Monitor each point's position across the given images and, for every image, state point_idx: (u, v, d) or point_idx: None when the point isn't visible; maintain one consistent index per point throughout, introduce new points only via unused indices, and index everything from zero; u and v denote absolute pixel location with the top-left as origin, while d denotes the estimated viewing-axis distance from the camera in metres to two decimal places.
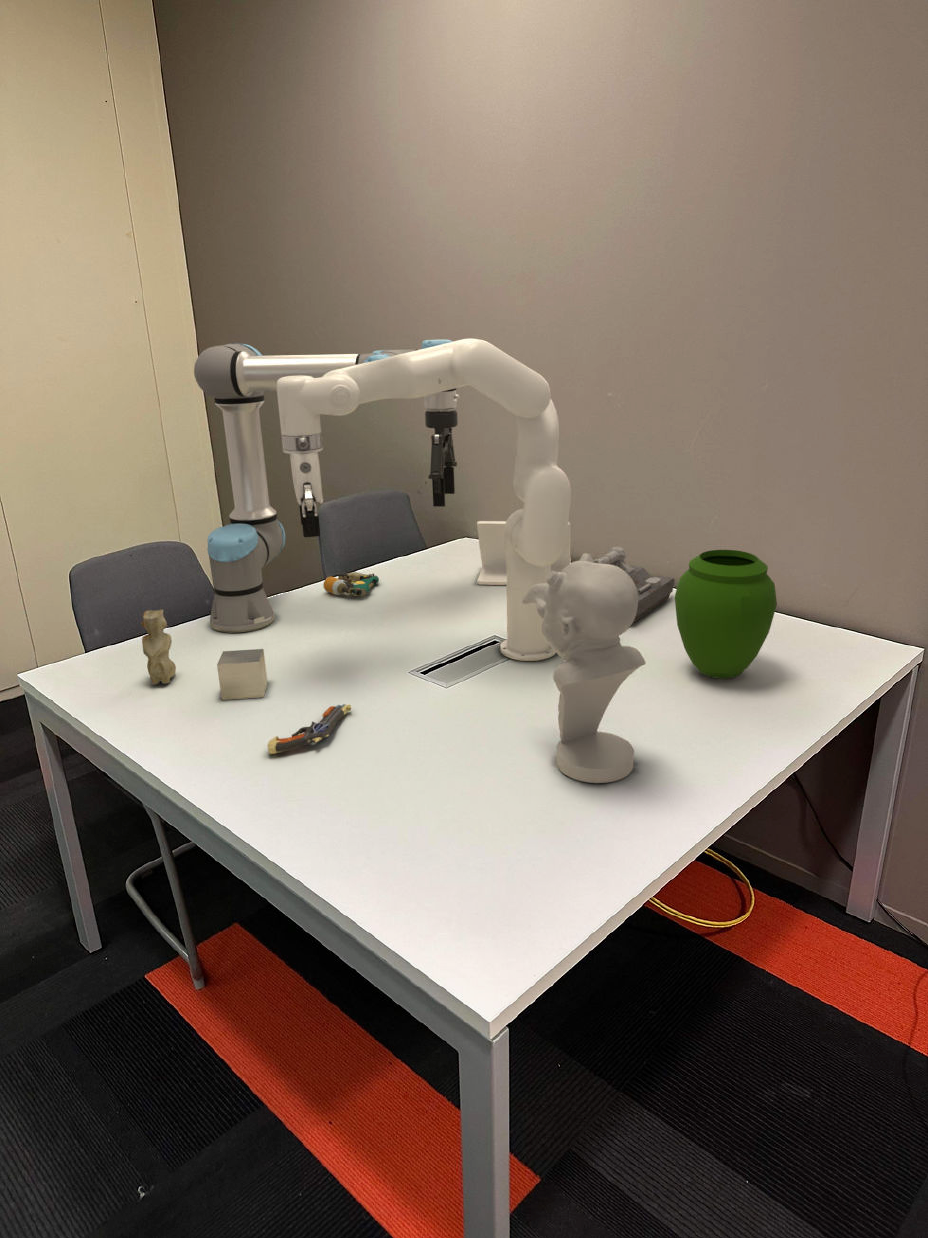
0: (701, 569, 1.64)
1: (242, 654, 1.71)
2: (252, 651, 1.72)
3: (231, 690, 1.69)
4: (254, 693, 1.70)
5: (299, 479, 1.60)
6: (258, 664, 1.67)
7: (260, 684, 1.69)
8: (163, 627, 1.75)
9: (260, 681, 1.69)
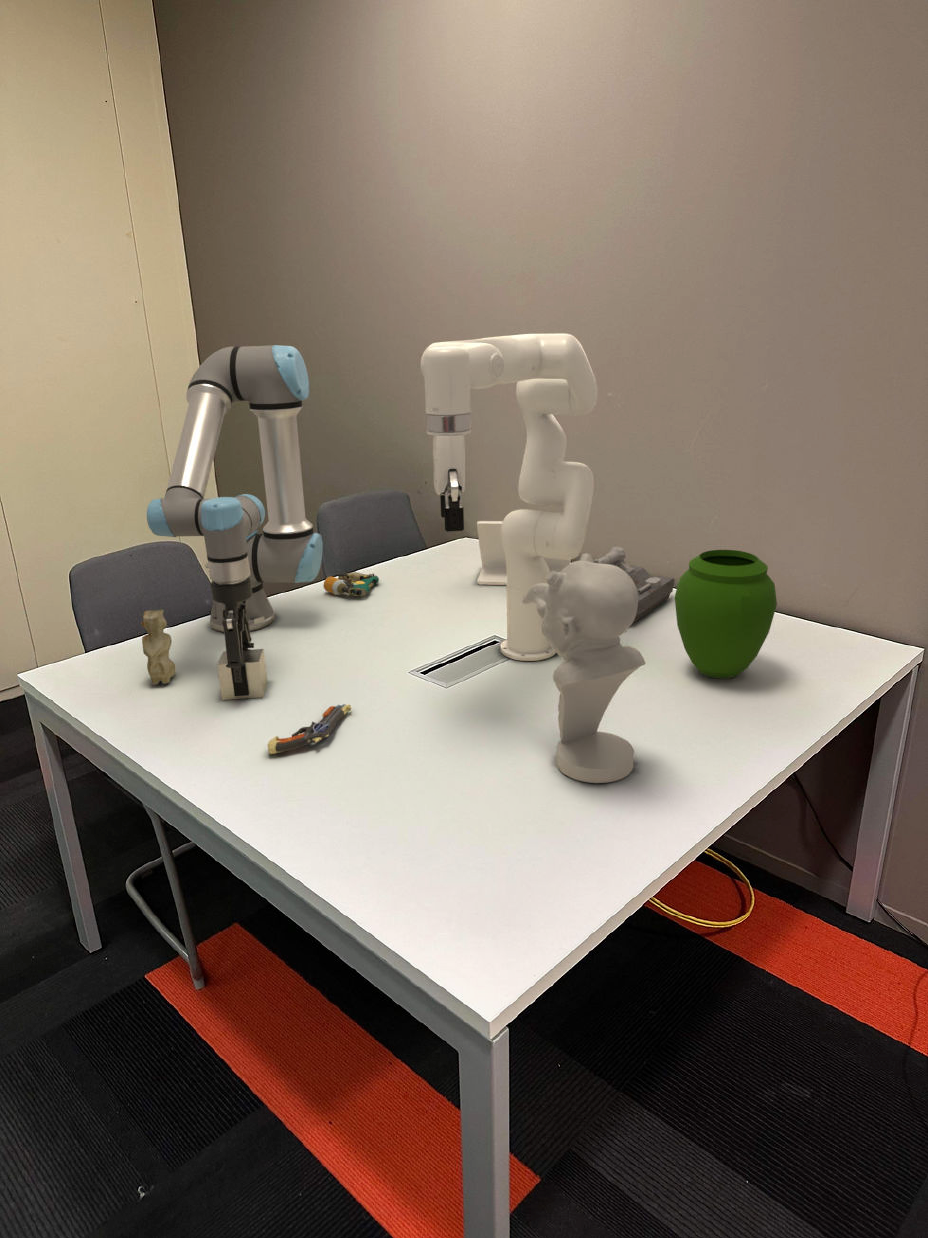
0: (701, 569, 1.64)
1: None
2: (252, 651, 1.72)
3: (231, 690, 1.69)
4: (254, 693, 1.70)
5: None
6: (258, 664, 1.67)
7: (260, 684, 1.69)
8: (163, 627, 1.75)
9: (260, 681, 1.69)
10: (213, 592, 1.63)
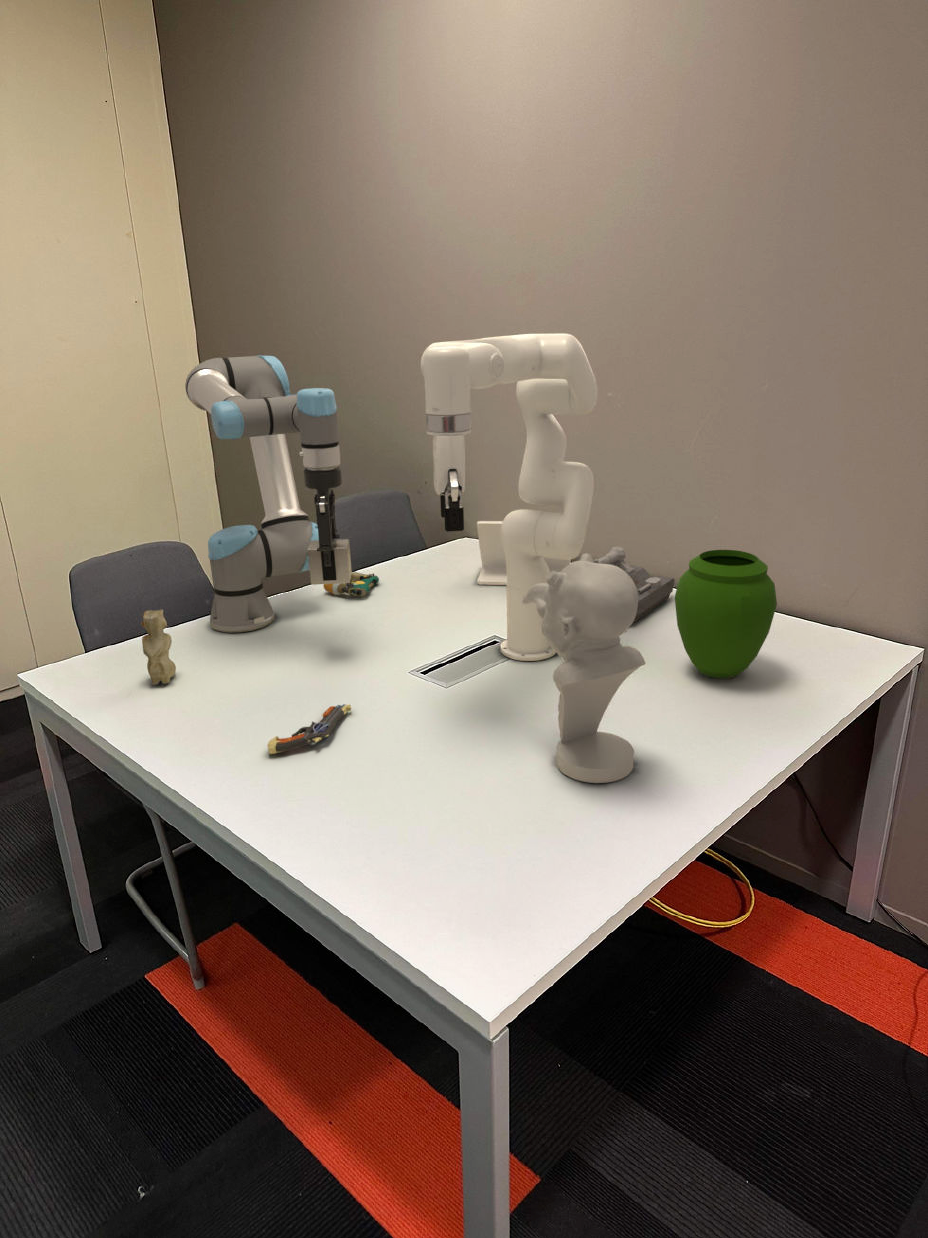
0: (701, 569, 1.64)
1: None
2: (339, 540, 1.82)
3: (320, 575, 1.78)
4: (341, 579, 1.79)
5: None
6: (346, 550, 1.77)
7: (347, 570, 1.78)
8: (163, 627, 1.75)
9: (347, 567, 1.78)
10: (306, 478, 1.72)
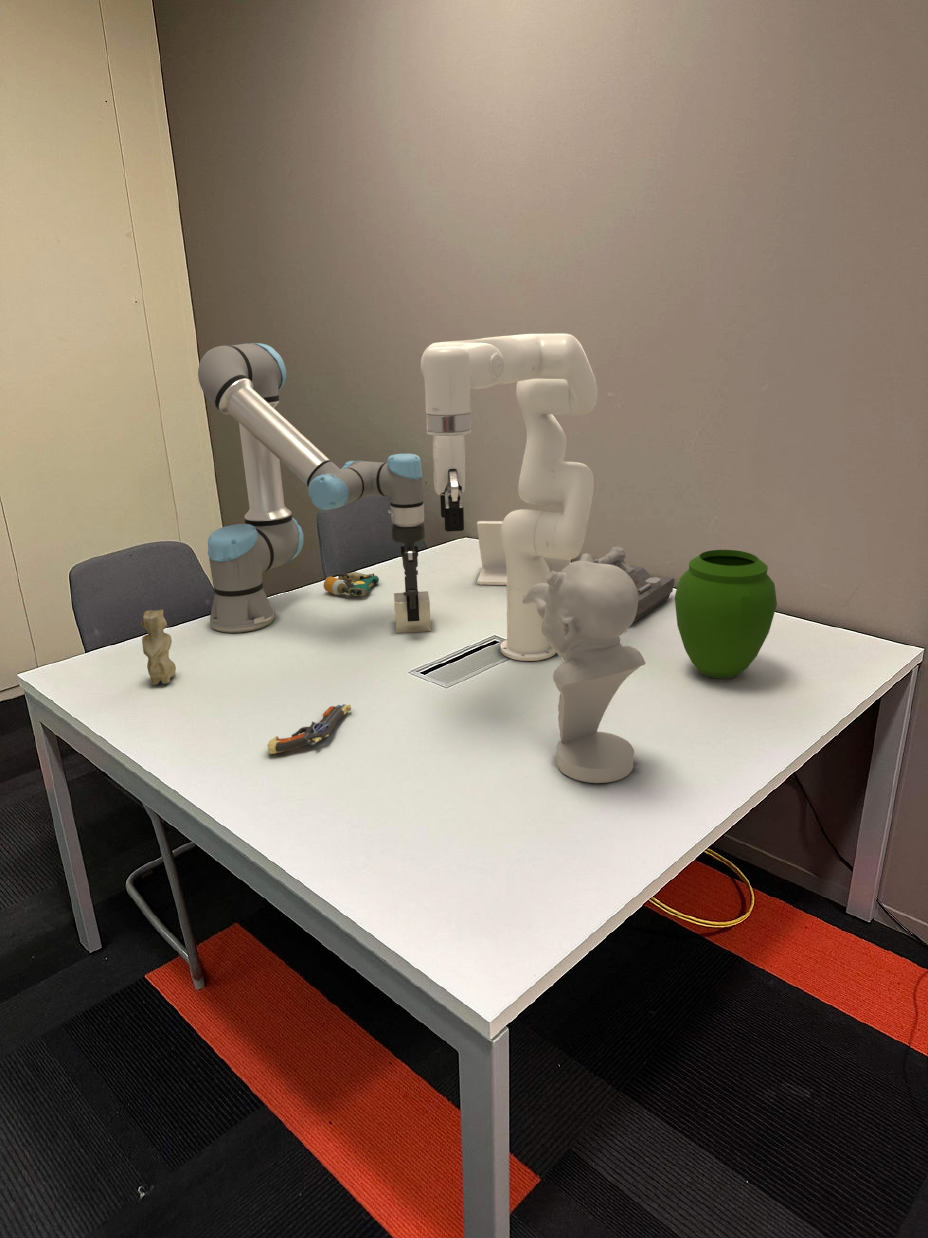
0: (701, 569, 1.64)
1: None
2: (419, 593, 2.04)
3: (404, 625, 2.00)
4: (423, 628, 2.01)
5: None
6: (428, 602, 1.99)
7: (429, 620, 2.00)
8: (163, 627, 1.75)
9: (429, 617, 2.00)
10: (395, 533, 1.93)
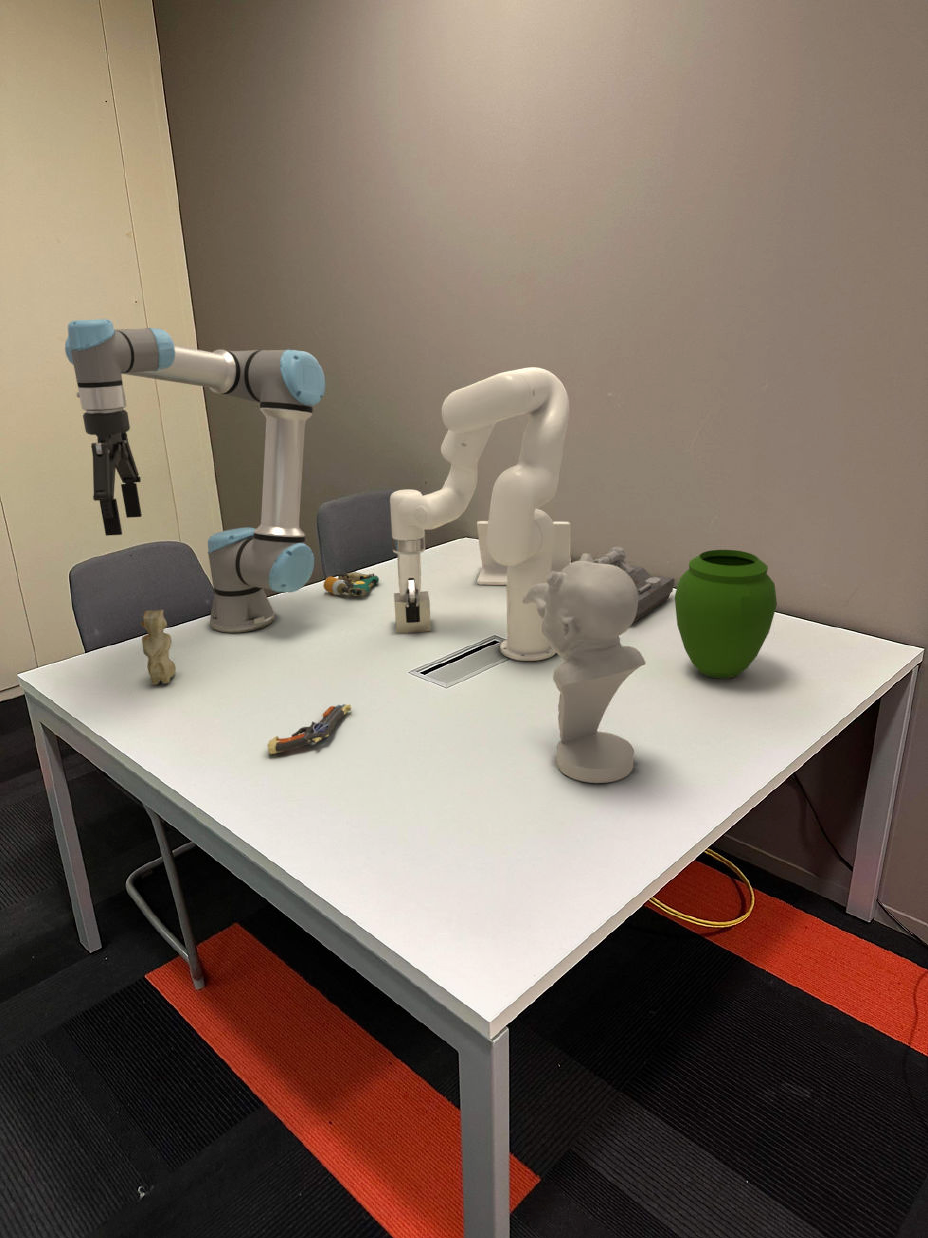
0: (701, 569, 1.64)
1: None
2: None
3: (404, 625, 2.00)
4: (423, 628, 2.01)
5: None
6: (428, 602, 1.99)
7: (429, 620, 2.00)
8: (163, 627, 1.75)
9: (429, 617, 2.00)
10: (85, 423, 1.52)
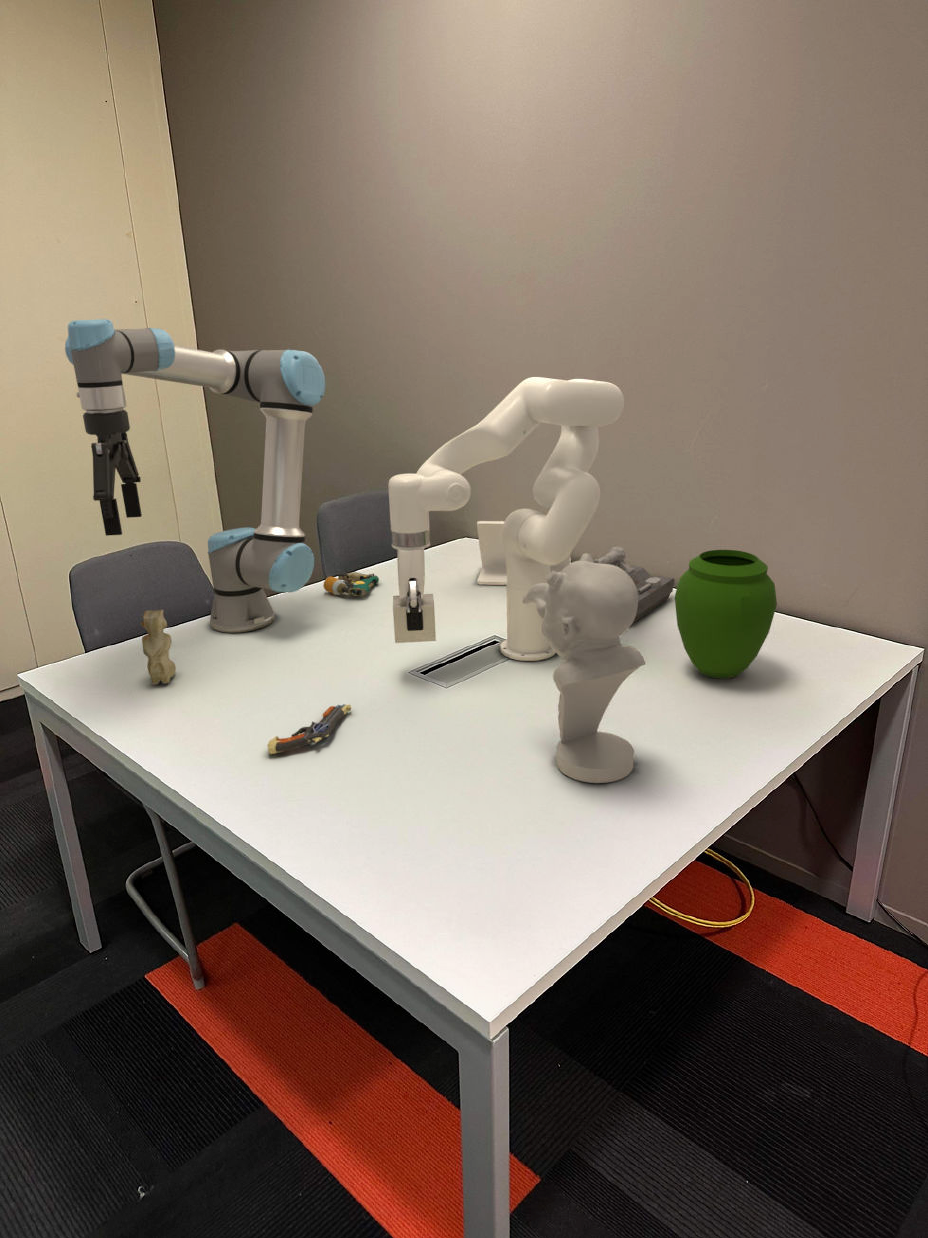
0: (701, 569, 1.64)
1: None
2: (423, 596, 1.74)
3: (404, 633, 1.70)
4: (427, 637, 1.71)
5: None
6: (433, 607, 1.69)
7: (433, 627, 1.70)
8: (163, 627, 1.75)
9: (434, 624, 1.70)
10: (85, 423, 1.52)
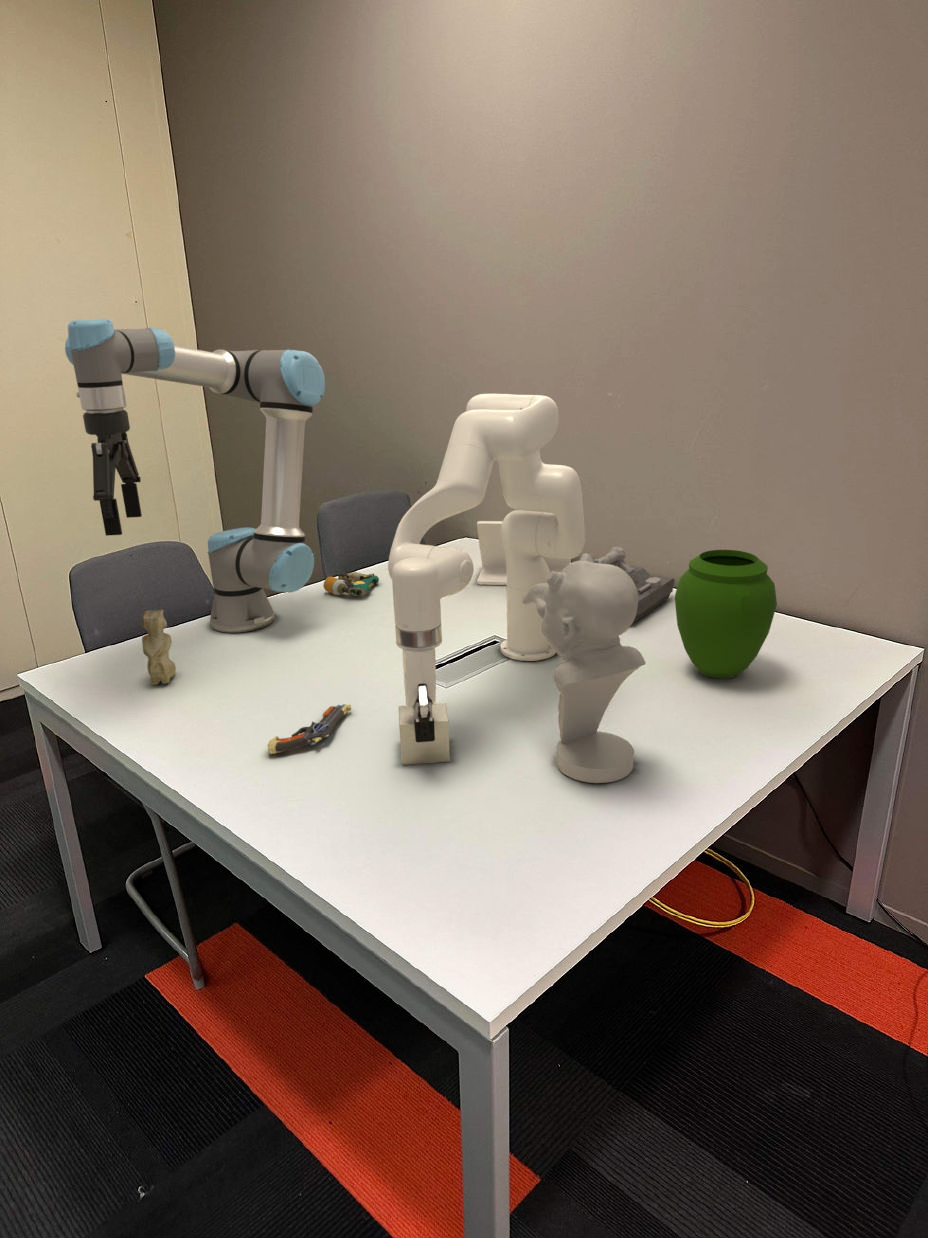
0: (701, 569, 1.64)
1: None
2: (434, 706, 1.47)
3: (413, 754, 1.43)
4: (439, 757, 1.44)
5: None
6: (447, 723, 1.42)
7: (447, 746, 1.43)
8: (163, 627, 1.75)
9: (448, 743, 1.43)
10: (85, 423, 1.52)
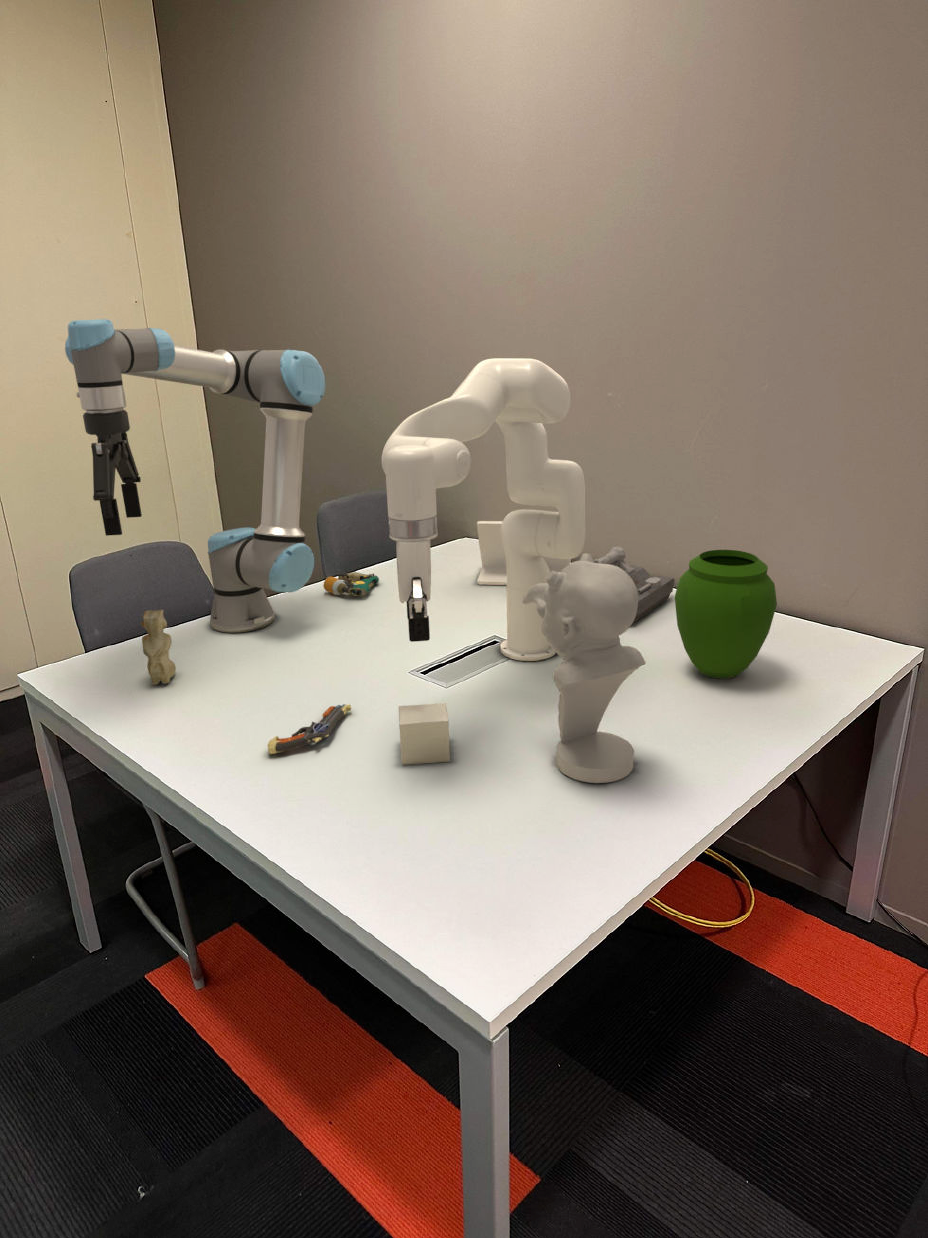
0: (701, 569, 1.64)
1: (424, 710, 1.46)
2: (434, 706, 1.47)
3: (413, 754, 1.43)
4: (439, 757, 1.44)
5: None
6: (447, 723, 1.42)
7: (447, 746, 1.43)
8: (163, 627, 1.75)
9: (448, 743, 1.43)
10: (85, 423, 1.52)
